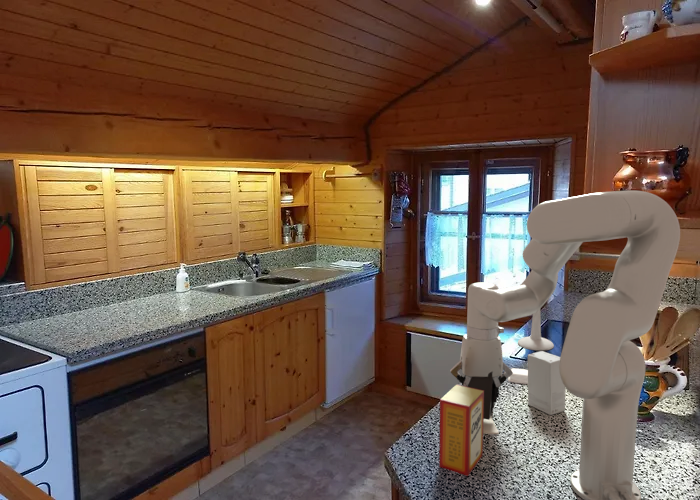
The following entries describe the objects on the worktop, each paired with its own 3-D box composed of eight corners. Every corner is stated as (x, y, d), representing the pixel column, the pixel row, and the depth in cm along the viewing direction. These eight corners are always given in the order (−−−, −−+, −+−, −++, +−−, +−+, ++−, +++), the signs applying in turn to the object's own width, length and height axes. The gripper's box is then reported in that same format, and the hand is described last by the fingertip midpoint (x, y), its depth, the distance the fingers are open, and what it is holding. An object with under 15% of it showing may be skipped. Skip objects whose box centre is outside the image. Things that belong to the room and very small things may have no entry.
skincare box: (565, 411, 134) (567, 358, 132) (549, 416, 131) (551, 362, 129) (541, 399, 141) (543, 349, 139) (525, 404, 138) (527, 353, 136)
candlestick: (542, 353, 179) (545, 271, 175) (511, 344, 188) (513, 267, 184) (560, 345, 187) (563, 267, 183) (529, 337, 197) (531, 263, 192)
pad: (498, 434, 122) (498, 432, 122) (469, 433, 123) (469, 432, 123) (489, 415, 132) (489, 413, 132) (463, 414, 133) (463, 413, 133)
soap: (538, 378, 157) (538, 369, 157) (538, 386, 151) (538, 377, 150) (508, 374, 160) (508, 366, 160) (507, 382, 154) (507, 373, 154)
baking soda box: (455, 447, 117) (456, 382, 114) (482, 455, 113) (484, 389, 111) (439, 466, 109) (439, 397, 107) (467, 476, 105) (469, 405, 103)
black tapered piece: (472, 401, 132) (473, 358, 131) (495, 405, 130) (496, 361, 128) (464, 415, 124) (465, 370, 123) (489, 420, 122) (490, 373, 120)
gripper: (513, 327, 127) (511, 394, 130) (445, 327, 128) (444, 392, 131) (521, 337, 120) (518, 407, 122) (449, 336, 121) (448, 405, 124)
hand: (480, 399), depth 127 cm, fingers closed on black tapered piece, 6 cm apart
